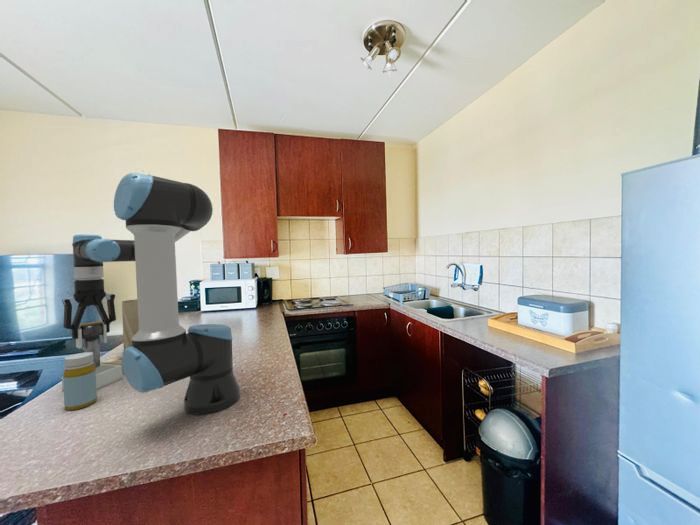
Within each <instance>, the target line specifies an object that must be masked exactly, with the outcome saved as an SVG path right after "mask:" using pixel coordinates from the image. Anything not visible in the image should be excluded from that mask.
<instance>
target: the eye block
mask: <svg viewBox="0 0 700 525" xmlns="http://www.w3.org/2000/svg"><path fill="white" fill-rule="evenodd" d="M100 364H110V365H122V354H121V355H119V356H116V357H113V358H110V359H108V360H105V361H102V362H100ZM122 375H125V374H124V371H123V367H122Z"/></svg>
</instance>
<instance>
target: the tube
mask: <svg viewBox="0 0 700 525" xmlns="http://www.w3.org/2000/svg"><path fill="white" fill-rule="evenodd" d="M121 314H122V316H121V318H122V341H123V351H124V350H125V349H127V348H128V347H132V337H133V336H134V335H135V334H136V333H137V332H138V330H139V323H138V303H137V298H136V299H126V300H123V301H121Z"/></svg>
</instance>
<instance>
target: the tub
mask: <svg viewBox="0 0 700 525" xmlns="http://www.w3.org/2000/svg"><path fill="white" fill-rule="evenodd" d="M120 380H123V374H122V365H110V364H101V363H100V366H99V367H97V368H96V389H97V391H99V390H100V389H102V388H104V387H106V386H109V385H112V384H113V383H114V384H115V383H116V382H118V381H120ZM61 385H62V386H61V389H62V390H61V391H62V392H64V385H63V375H62V376H61Z"/></svg>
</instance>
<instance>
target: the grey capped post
mask: <svg viewBox="0 0 700 525" xmlns="http://www.w3.org/2000/svg"><path fill="white" fill-rule="evenodd" d="M103 324H104V323H103V321H102V320H99V321H93V322H87V323H80V325H79V328H80V329H82V340H83V353H84V352H92V353H93V364H94V366H95V367H96V368H97V367H99V366H100V364H101V346H100V345H101V344H100V342H101V340H100V337H101V335H103Z"/></svg>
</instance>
